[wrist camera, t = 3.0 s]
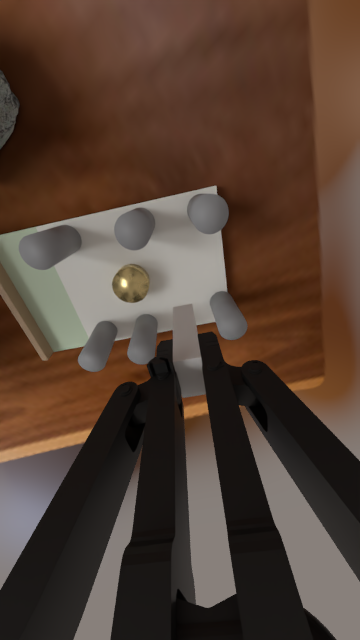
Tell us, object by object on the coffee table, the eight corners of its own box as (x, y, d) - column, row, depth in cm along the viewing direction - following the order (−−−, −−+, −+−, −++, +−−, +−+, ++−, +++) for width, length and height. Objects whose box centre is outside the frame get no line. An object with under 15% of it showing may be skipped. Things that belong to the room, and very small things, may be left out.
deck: (52, 348, 36) (22, 387, 29) (-14, 238, 28) (-78, 253, 21) (232, 314, 34) (248, 346, 27) (219, 184, 26) (238, 181, 19)
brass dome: (122, 298, 31) (118, 305, 29) (111, 267, 29) (106, 273, 27) (153, 292, 31) (152, 299, 29) (144, 260, 28) (142, 265, 27)
